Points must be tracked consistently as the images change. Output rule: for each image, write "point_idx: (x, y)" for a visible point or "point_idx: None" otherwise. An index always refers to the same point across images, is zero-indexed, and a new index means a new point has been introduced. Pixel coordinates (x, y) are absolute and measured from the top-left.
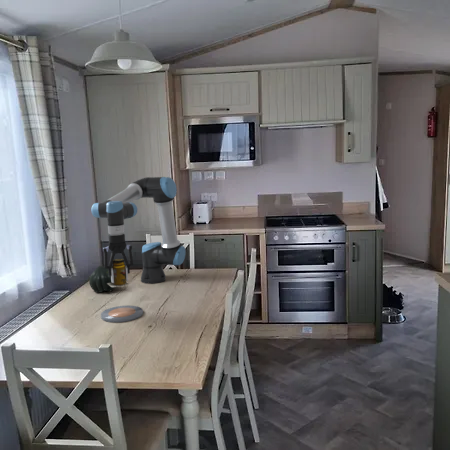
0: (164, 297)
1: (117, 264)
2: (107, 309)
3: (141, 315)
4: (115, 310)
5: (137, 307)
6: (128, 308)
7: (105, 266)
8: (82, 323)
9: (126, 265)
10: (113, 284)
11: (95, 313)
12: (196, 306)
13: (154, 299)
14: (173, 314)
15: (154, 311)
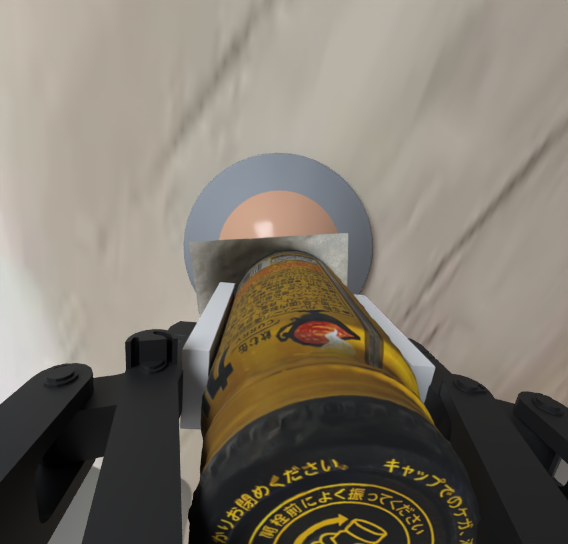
0: (541, 121)
1: None
2: (228, 172)
3: None
4: (259, 213)
5: (361, 228)
6: (320, 221)
7: (43, 481)
8: (102, 261)
9: (440, 411)
10: (235, 292)
11: (171, 161)
12: (563, 322)
13: (487, 122)
14: (448, 355)
15: (407, 287)
